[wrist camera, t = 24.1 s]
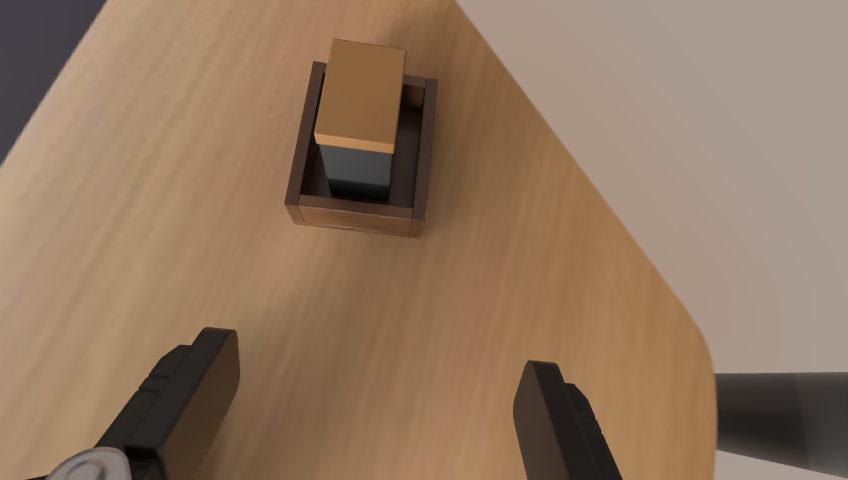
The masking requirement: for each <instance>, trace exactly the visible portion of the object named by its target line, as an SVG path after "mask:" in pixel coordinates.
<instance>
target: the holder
mask: <svg viewBox="0 0 848 480" xmlns="http://www.w3.org/2000/svg"><path fill="white" fill-rule="evenodd" d="M327 64H328V63H322V62H315V61H313V65H312V70H311V75H310V80H309V85H308V90H307V95H306V100H305V105H304V109H303V114H302V119H301V124H300V129H299V134H298V139H297V144H296V149H295V154H294V159H293V163H292V168H291V173H290V178H289V183H288V188H287V193H286V198H285V203H284V205H285V207H286V209H287V210H288V212H289V214H290V216H291V218H292V220H293V222H294V224H300V225H309V226H317V227H325V228H334V229H342V230H351V231H359V232H367V233H376V234H384V235H393V236H401V237H409V238H419V236H420V233H421V230H422V227H423V224H424V221H425V210H426V200H427V189H428V178H429V168H430V157H431V147H432V136H433V125H434V115H435V104H436V94H437V83H438V80H436V79H429V78H427V79H426V78H423V77H416V76H409V75H404V78H403V86H402V94H401V102H400V110H399V118H398V128H397V136H396V144H395V152H394V160H393V168H392V176H391V184H390V192H389V200H388V201H382V200H374V199H366V198H358V197H350V196H342V195H334V194H331V192H330V188H329V184H328V179H327V175H326V171H325V167H324V162H323V158H322V154H321V150H320V145H319V144H317V143H316V139H315V135H314V132H315V127H316V122H317V117H318V111H319V106H320V101H321V96H322V91H323V85H324V80H325V75H326V70H327Z"/></svg>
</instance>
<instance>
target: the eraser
mask: <svg viewBox="0 0 848 480" xmlns="http://www.w3.org/2000/svg"><path fill="white" fill-rule="evenodd" d="M406 52H407V51H406V50H405V49H399V48H392V47H386V46H379V45H372V44H366V43H359V42H353V41H346V40H340V39H332V44H331V49H330V54H329V59H328V64H327V70H326V75H325V80H324V85H323V91H322V96H321V101H320V106H319V111H318V117H317V122H316V127H315V132H314V135H315V139H316V143H317V144H319V145H320V150H321V154H322V158H323V162H324V167H325V171H326V175H327V179H328V184H329V188H330V192H331V194H334V195H342V196H350V197H358V198H366V199H374V200H382V201H388V200H389V192H390V184H391V176H392V168H393V160H394V152H395V144H396V136H397V128H398V118H399V110H400V102H401V94H402V86H403V78H404V70H405V62H406Z"/></svg>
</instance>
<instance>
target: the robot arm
mask: <svg viewBox="0 0 848 480" xmlns="http://www.w3.org/2000/svg"><path fill="white" fill-rule="evenodd" d="M239 379H240V364H239V351H238V338H237V332H236V331H235V330H232V329H222V328H212V327H205V328H204V329H202V331H201V332H200V333H199V335H198V336H197V338H196V339H195V341H194V342H193V344H192V345H191V346H190V345H179V346H177V347H176V348H175V349H173V350H172V351H170V352H169V353H167V354H166V355H165V356H163V357H162V358H161V359H160V360H159V362H158V363H157V364H156V366H155V367H154V368H153V370H152V371H151V372H150V374H149V377H147V378H146V379H145V380H144V382H143V383H142V384H141V385H140V387H139V390H138V391H136V392H135V393H134V395H133V396H132V397H131V399H130V400H129V401H128V403H127V404H126V405H125V407H124V408H123V409H122V411H121V412H120V413H119V415H118V416H117V417H116V419H115V420H114V421H113V423H112V424H111V425H110V427H109V428H108V429H107V431H106V432H105V433H104V435H103V436H102V437H101V439H100V440H99V441H98V443H97V444H96V445H95V446H94V447H93V448H92V449H88V450H85V451H82V452H80V453H78V454H75V455H74V456H72V457H70V458H68V459H67V460H65V461H64V462H62V463H61V464H60V465H58V466H57V467H56V468H55V469H54V470H53V471H52V472H51V473H50V474H49V475H46V476H42V477H37V478H32V479H27V480H194V479H195V477H196V475H197V473H198V471H199V469H200V467H201V465H202V462H203V460H204V458H205V456H206V454H207V452H208V450H209V448H210V446H211V444H212V442H213V440H214V438H215V436H216V434H217V432H218V430H219V427H220V425H221V423H222V421H223V419H224V417H225V415H226V413H227V411H228V409H229V407H230V405H231V403H232V401H233V399H234V397H235V394H236V392H237V388H238V385H239ZM513 418H514V424H515V428H516V432H517V437H518V441H519V445H520V450H521V454H522V458H523V463H524V467H525V471H526V476H527V480H623V479H622V477H621V475H620V473H619V470H618V468H617V466H616V463H615V461H614V459H613V456H612V454H611V452H610V450H609V447H608V445H607V443H606V440H605V438H604V436H603V434H601V429H600V427H599V424H598V422H597V420H595V415H594V413H593V411H592V408H591V406H590V404H589V401H588V399H587V398H586V397H585V396H584V395H583V394H582V392H581V391H580V390H579V389H578V388H577V387H576V386H575V384H570V383H565V382H564V380H563V377H562V375H561V372H560V370H559V367H558V365H557V364H556V363H551V362H541V361H531V360H529V361H528V362H527V363H526V365H525V368H524V371H523V374H522V377H521V380H520V383H519V386H518V389H517V393H516V396H515V399H514V405H513Z"/></svg>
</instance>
